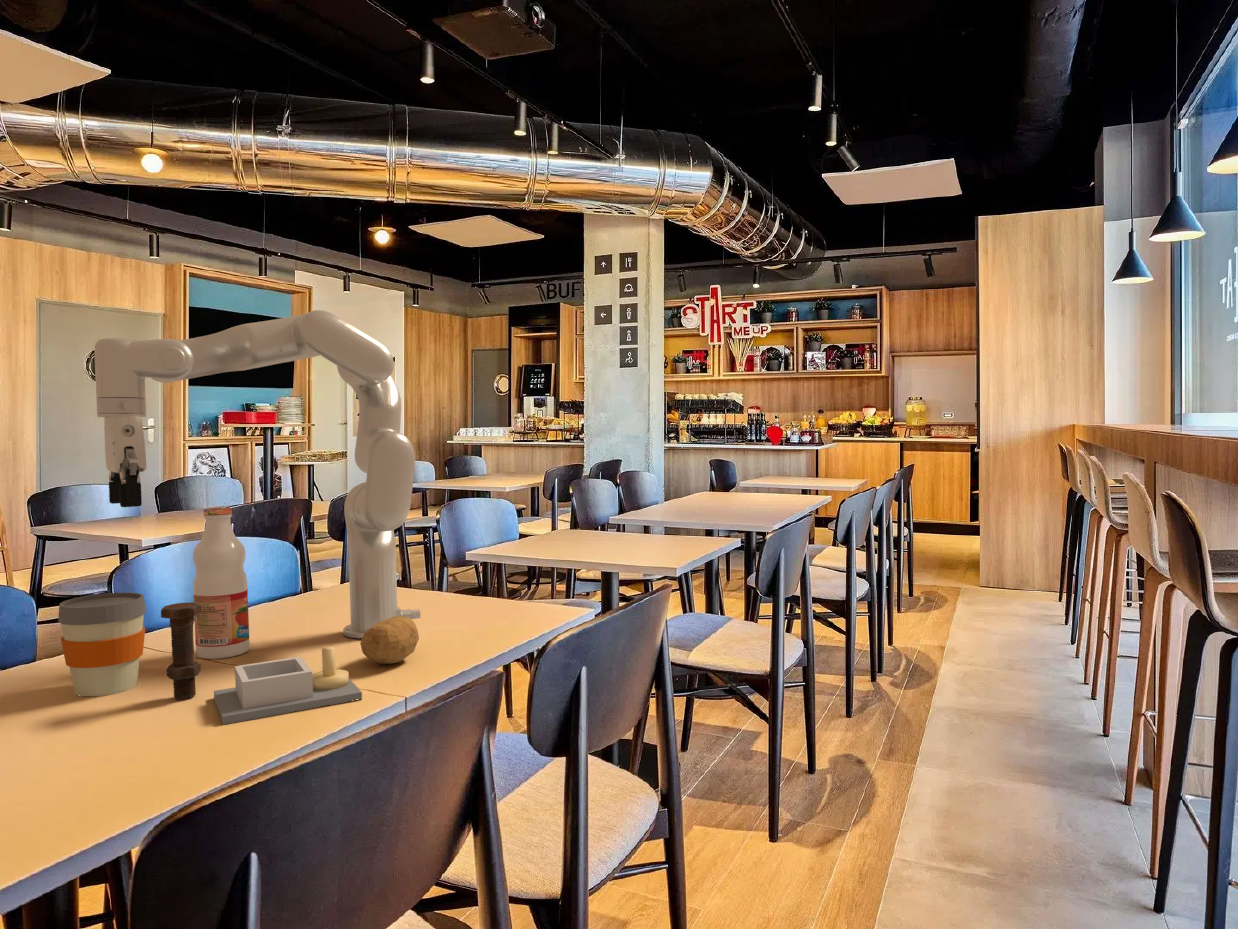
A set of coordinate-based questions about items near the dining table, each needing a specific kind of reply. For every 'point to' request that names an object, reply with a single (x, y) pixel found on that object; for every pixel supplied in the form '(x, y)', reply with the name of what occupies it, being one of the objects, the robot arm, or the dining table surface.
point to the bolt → (182, 648)
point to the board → (284, 688)
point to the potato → (390, 640)
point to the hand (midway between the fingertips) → (125, 504)
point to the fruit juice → (220, 589)
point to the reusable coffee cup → (103, 641)
